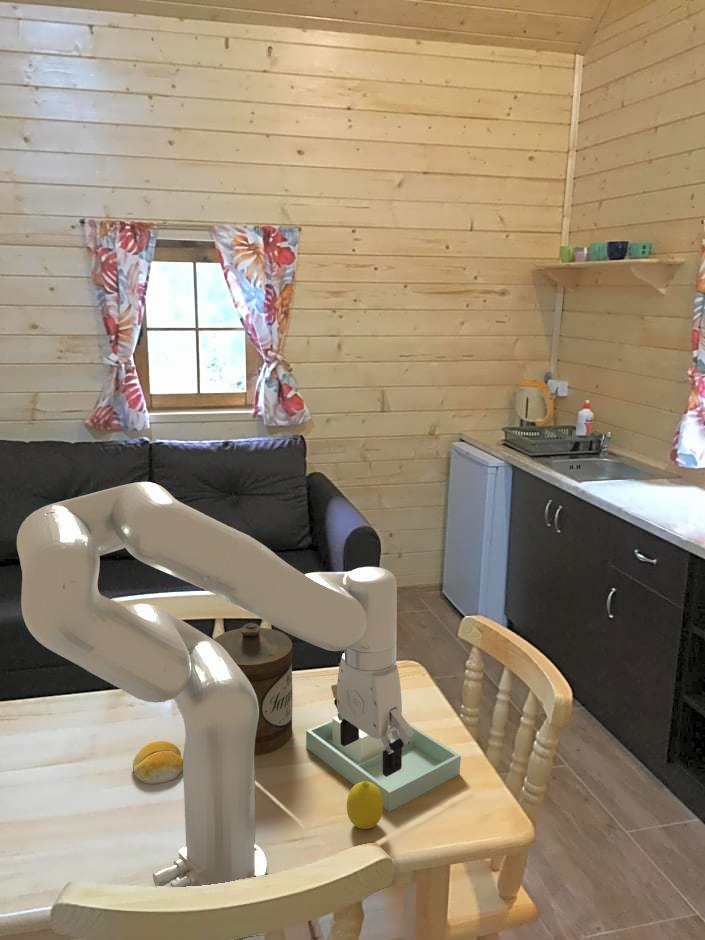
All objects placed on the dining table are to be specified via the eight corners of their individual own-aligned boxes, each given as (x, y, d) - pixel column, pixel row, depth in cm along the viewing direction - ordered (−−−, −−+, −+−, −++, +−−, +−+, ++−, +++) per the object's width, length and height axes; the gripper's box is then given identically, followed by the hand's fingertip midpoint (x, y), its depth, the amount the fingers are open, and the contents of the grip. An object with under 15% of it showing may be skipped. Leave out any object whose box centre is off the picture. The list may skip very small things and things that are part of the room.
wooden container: (289, 759, 139) (289, 643, 134) (204, 758, 139) (200, 642, 134) (294, 714, 154) (295, 607, 148) (217, 713, 153) (215, 606, 148)
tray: (388, 815, 125) (389, 792, 124) (306, 750, 142) (306, 730, 141) (459, 776, 135) (460, 755, 134) (374, 720, 152) (375, 701, 151)
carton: (360, 764, 137) (361, 738, 136) (332, 743, 143) (332, 718, 142) (391, 749, 142) (392, 724, 140) (362, 729, 148) (362, 705, 146)
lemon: (379, 843, 119) (380, 796, 117) (342, 837, 120) (343, 790, 118) (385, 819, 124) (386, 774, 122) (350, 814, 125) (351, 769, 124)
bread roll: (178, 750, 142) (177, 729, 141) (187, 779, 134) (186, 758, 133) (129, 759, 139) (128, 738, 138) (136, 789, 131) (135, 768, 130)
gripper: (313, 639, 120) (315, 740, 124) (390, 684, 107) (390, 795, 111) (352, 625, 124) (353, 723, 128) (431, 666, 111) (429, 774, 115)
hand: (370, 756), depth 120 cm, fingers open, 9 cm apart
